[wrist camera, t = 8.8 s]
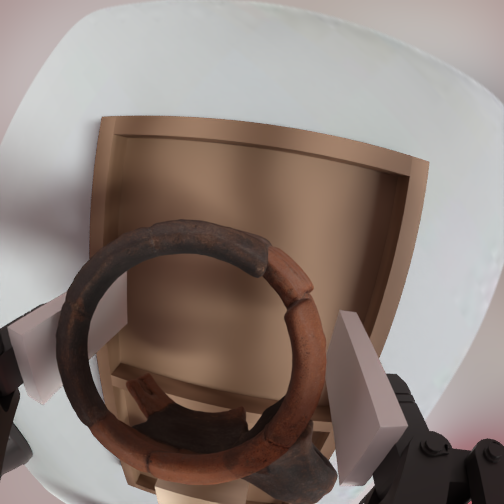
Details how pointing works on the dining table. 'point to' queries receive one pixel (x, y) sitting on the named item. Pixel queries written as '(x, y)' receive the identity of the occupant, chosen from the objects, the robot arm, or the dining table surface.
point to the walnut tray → (233, 278)
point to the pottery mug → (198, 422)
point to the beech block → (202, 493)
